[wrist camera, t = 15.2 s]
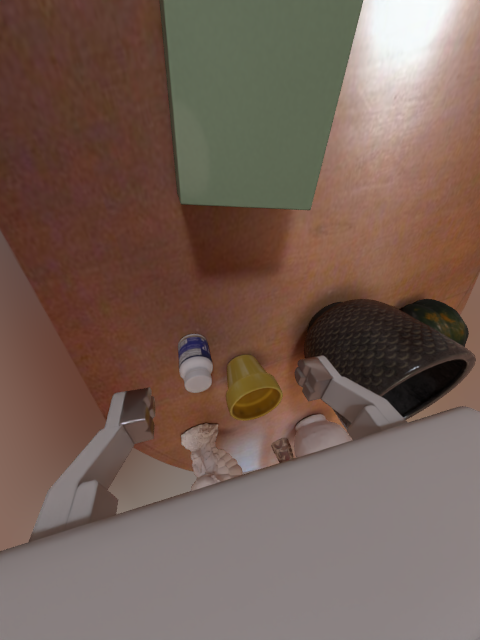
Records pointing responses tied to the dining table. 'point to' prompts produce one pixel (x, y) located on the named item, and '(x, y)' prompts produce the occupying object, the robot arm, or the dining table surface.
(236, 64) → the green drawer cabinet
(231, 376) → the flower pot
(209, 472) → the cherub figurine
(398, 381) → the planter
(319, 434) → the vase
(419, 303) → the squash
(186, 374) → the pill bottle
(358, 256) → the dining table surface
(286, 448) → the figurine
